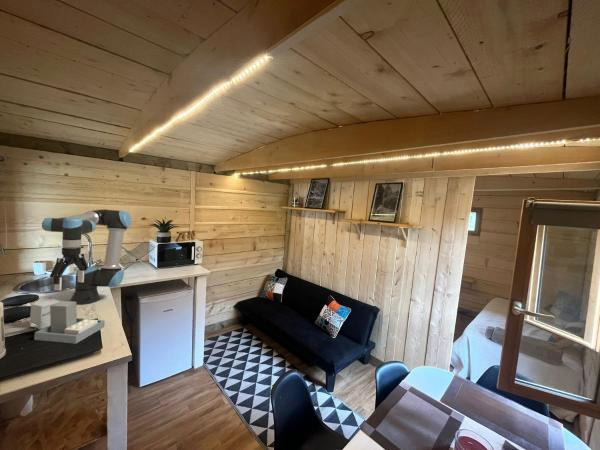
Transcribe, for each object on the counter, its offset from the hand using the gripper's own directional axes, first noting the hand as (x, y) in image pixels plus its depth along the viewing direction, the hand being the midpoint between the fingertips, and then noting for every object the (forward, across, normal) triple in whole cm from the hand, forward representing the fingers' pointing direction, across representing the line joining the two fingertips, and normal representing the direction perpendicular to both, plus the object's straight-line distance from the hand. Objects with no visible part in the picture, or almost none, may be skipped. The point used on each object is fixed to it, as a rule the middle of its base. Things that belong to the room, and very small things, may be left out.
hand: (69, 285), depth 134 cm
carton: (+23, +6, +12) cm, 26 cm away
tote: (+24, +6, +7) cm, 25 cm away
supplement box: (+24, -1, -14) cm, 28 cm away
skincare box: (+23, +6, +3) cm, 24 cm away
